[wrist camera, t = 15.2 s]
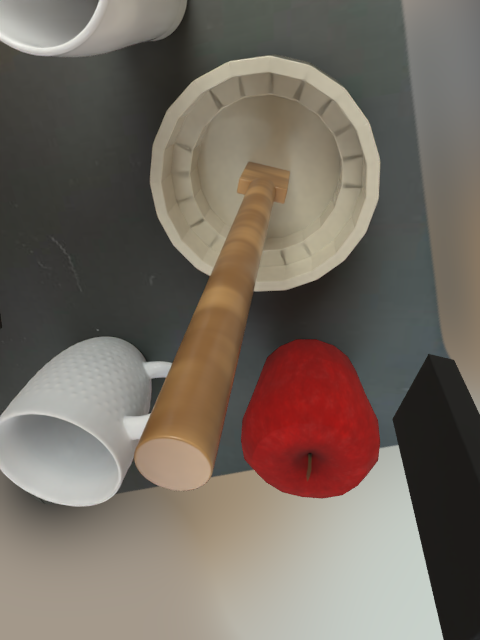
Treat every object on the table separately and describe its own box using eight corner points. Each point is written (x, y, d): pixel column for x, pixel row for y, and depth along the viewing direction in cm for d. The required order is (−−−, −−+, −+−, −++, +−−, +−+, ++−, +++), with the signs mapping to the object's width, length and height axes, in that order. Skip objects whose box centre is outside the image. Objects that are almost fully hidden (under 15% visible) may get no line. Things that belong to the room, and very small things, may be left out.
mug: (180, 300, 40) (132, 395, 29) (217, 390, 45) (188, 500, 34) (45, 327, 44) (-42, 421, 33) (93, 408, 49) (31, 511, 38)
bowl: (186, 33, 29) (161, 30, 24) (400, 83, 29) (419, 90, 24) (165, 235, 37) (142, 264, 32) (332, 275, 37) (336, 311, 32)
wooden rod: (244, 179, 33) (101, 474, 10) (249, 155, 32) (103, 420, 9) (285, 189, 33) (235, 506, 10) (292, 165, 32) (250, 456, 9)
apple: (242, 387, 45) (219, 503, 33) (273, 305, 39) (258, 411, 28) (340, 416, 45) (350, 541, 34) (384, 339, 40) (414, 458, 28)
